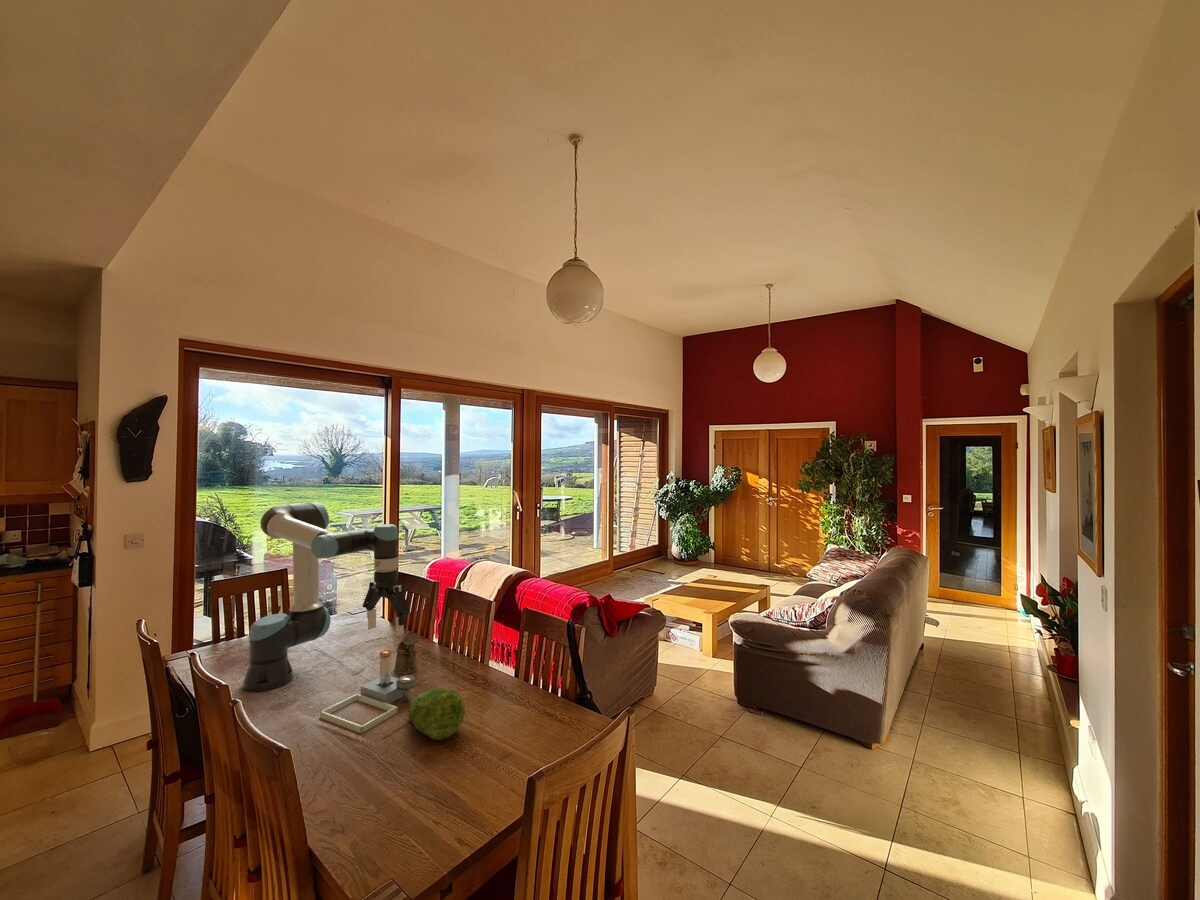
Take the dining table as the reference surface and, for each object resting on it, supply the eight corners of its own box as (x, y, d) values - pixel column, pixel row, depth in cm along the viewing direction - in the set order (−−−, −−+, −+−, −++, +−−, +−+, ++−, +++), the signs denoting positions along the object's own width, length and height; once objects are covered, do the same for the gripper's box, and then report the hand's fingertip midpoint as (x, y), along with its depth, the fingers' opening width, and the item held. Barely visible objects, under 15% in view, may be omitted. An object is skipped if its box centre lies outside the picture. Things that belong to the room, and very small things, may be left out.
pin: (376, 696, 169) (377, 653, 169) (385, 692, 172) (386, 649, 172) (384, 699, 167) (384, 655, 167) (393, 694, 170) (394, 651, 170)
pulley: (391, 705, 165) (392, 680, 165) (406, 697, 171) (407, 672, 171) (405, 709, 162) (405, 684, 162) (420, 701, 168) (420, 676, 168)
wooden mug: (399, 684, 180) (400, 634, 180) (390, 670, 191) (391, 624, 191) (424, 677, 185) (425, 630, 185) (414, 665, 196) (415, 619, 196)
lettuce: (435, 721, 163) (437, 678, 167) (470, 735, 147) (472, 687, 150) (392, 731, 154) (395, 685, 157) (425, 747, 137) (428, 696, 141)
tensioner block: (360, 701, 168) (360, 686, 168) (385, 688, 177) (385, 674, 177) (385, 709, 162) (385, 694, 162) (409, 696, 171) (409, 681, 171)
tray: (320, 720, 155) (320, 711, 155) (357, 701, 167) (357, 693, 167) (361, 736, 147) (361, 727, 147) (397, 715, 159) (397, 706, 159)
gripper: (351, 568, 172) (351, 629, 172) (403, 576, 161) (402, 641, 161) (370, 564, 179) (370, 622, 178) (420, 571, 168) (420, 633, 167)
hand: (385, 631), depth 170 cm, fingers open, 13 cm apart
